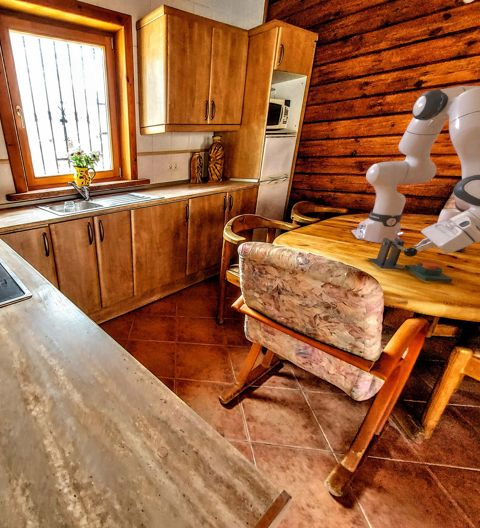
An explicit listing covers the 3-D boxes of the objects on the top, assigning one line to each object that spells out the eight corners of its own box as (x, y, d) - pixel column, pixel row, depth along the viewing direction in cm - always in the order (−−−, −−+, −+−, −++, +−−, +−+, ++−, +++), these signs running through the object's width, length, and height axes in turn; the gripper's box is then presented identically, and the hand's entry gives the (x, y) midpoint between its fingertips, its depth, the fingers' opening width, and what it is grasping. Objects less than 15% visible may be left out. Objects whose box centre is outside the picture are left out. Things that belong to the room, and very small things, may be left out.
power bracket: (403, 271, 112) (414, 244, 107) (379, 270, 114) (389, 243, 109) (389, 261, 121) (398, 236, 116) (367, 260, 123) (375, 235, 118)
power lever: (417, 258, 102) (421, 249, 101) (406, 257, 103) (409, 248, 102) (394, 247, 115) (397, 238, 114) (384, 246, 116) (386, 238, 115)
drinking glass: (434, 240, 140) (446, 211, 134) (427, 236, 145) (438, 208, 139) (452, 241, 137) (465, 212, 131) (444, 237, 143) (456, 209, 137)
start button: (419, 265, 108) (420, 261, 108) (431, 266, 107) (433, 262, 107) (426, 270, 105) (428, 265, 104) (439, 270, 104) (441, 266, 103)
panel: (403, 269, 114) (406, 260, 112) (427, 270, 112) (431, 261, 110) (423, 282, 103) (427, 273, 102) (450, 284, 101) (454, 274, 100)
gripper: (446, 212, 102) (402, 234, 111) (472, 226, 86) (418, 251, 95) (458, 225, 102) (413, 246, 111) (487, 241, 86) (431, 265, 95)
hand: (416, 249), depth 103 cm, fingers closed, pressing on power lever
